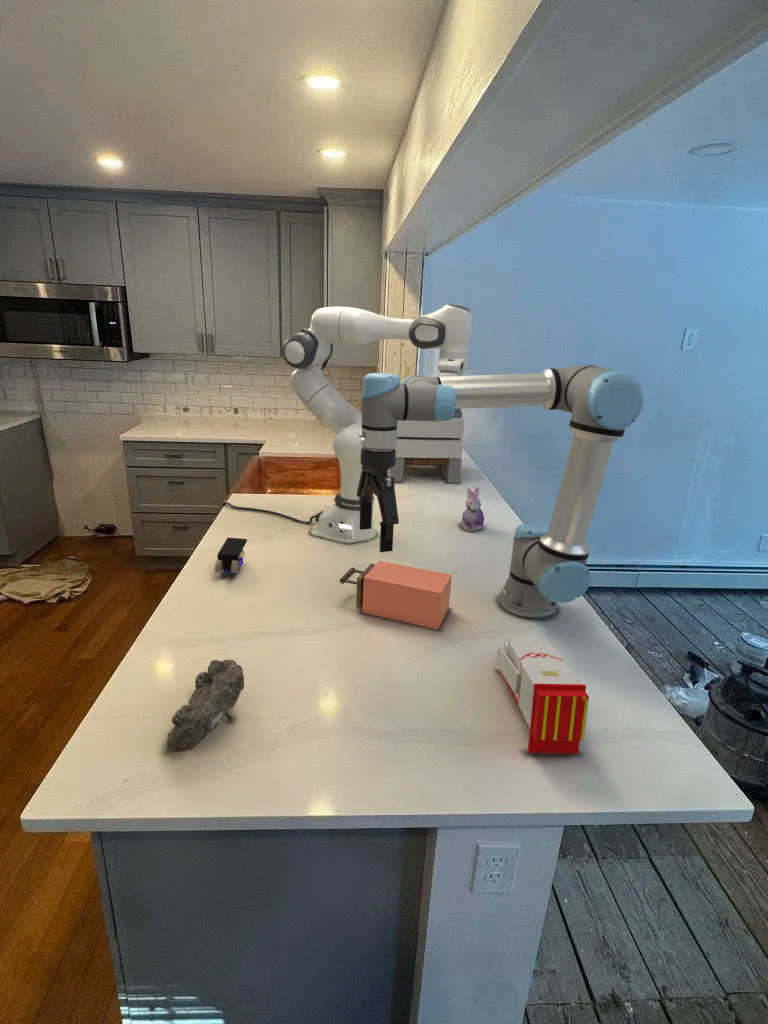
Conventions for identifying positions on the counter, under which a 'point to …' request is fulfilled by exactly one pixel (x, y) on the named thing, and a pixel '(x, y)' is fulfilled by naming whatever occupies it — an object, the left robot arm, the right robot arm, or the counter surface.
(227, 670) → the fossil
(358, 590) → the drawer
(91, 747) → the counter surface
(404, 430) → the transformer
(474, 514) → the figurine
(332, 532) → the left robot arm
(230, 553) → the figurine character
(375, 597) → the cabinet
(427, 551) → the counter surface
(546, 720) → the toy
